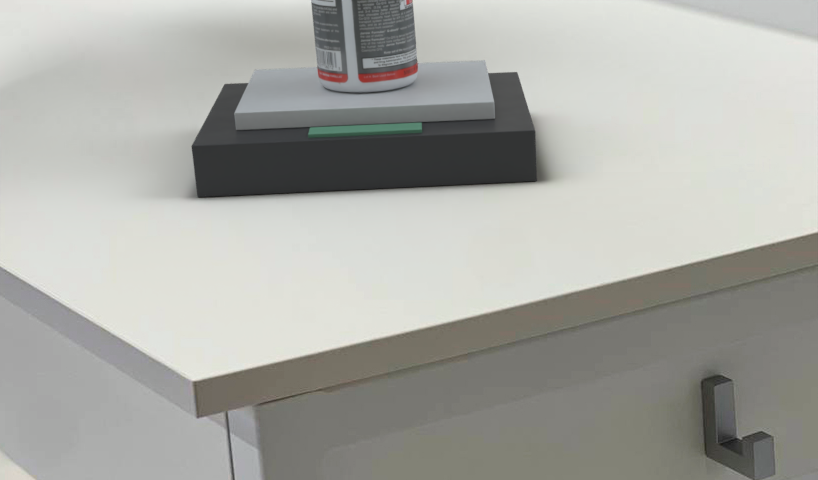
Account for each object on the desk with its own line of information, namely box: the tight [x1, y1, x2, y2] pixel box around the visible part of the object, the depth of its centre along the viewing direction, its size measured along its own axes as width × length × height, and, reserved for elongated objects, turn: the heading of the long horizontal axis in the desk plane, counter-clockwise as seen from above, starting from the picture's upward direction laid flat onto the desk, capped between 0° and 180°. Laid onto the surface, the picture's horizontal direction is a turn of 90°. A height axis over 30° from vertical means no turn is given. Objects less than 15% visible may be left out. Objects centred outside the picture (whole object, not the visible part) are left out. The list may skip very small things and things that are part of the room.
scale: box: [191, 59, 538, 198], centre depth 93 cm, size 18×16×4 cm
